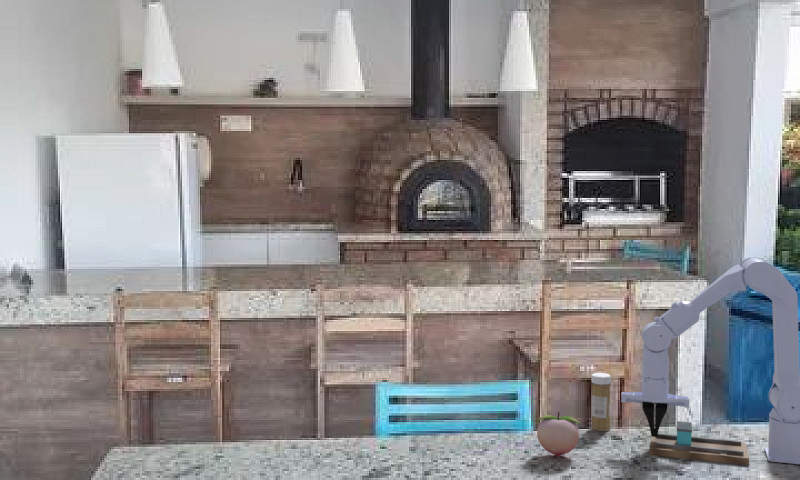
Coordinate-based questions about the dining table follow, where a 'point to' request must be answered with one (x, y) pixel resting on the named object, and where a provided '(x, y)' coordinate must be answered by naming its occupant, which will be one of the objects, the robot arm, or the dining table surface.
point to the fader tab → (684, 433)
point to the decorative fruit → (558, 434)
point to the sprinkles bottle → (601, 401)
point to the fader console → (700, 449)
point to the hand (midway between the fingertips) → (654, 435)
